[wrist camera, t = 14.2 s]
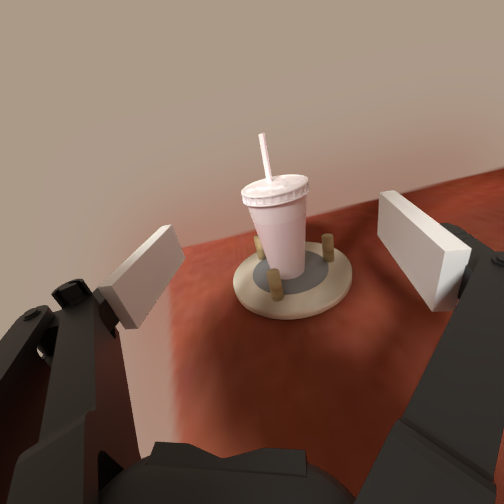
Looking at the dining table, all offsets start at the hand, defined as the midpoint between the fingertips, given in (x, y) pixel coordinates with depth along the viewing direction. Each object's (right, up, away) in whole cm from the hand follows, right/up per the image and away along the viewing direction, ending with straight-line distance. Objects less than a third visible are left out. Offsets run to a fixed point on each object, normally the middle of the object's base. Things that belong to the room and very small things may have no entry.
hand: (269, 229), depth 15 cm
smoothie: (+3, -4, +12) cm, 12 cm away
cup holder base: (+3, -4, +12) cm, 13 cm away
